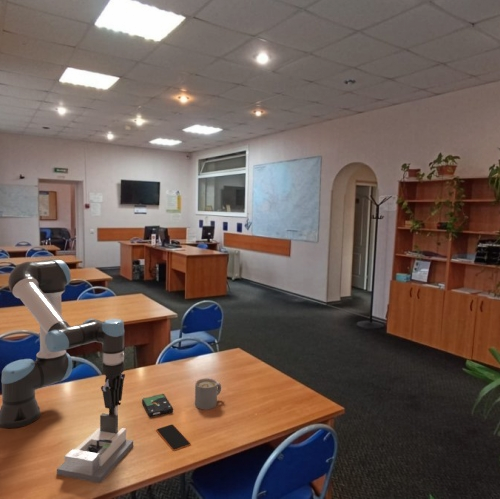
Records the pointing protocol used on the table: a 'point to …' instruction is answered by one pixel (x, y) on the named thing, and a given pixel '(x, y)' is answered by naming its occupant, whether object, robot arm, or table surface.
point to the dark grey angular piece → (96, 447)
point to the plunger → (106, 428)
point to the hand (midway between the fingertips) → (113, 422)
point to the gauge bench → (101, 468)
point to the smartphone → (173, 437)
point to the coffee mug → (206, 393)
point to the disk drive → (157, 405)
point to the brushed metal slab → (82, 462)
